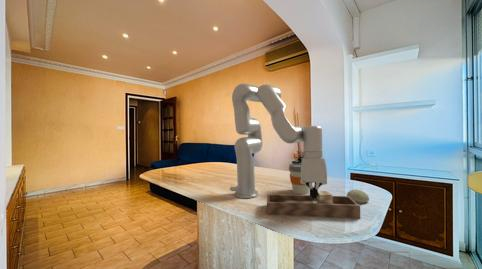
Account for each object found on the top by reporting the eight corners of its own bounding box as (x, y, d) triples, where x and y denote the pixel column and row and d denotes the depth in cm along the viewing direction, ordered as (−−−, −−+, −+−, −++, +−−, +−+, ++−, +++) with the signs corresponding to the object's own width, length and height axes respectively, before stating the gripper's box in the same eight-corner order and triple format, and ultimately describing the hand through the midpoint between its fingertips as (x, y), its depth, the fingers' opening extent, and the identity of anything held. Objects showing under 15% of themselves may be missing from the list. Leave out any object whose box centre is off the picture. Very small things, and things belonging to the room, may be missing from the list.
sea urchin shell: (359, 201, 89) (349, 186, 94) (350, 209, 95) (340, 194, 100) (375, 199, 92) (364, 184, 97) (364, 206, 97) (355, 192, 102)
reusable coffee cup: (291, 195, 106) (291, 167, 106) (287, 188, 118) (287, 163, 118) (315, 195, 105) (315, 167, 105) (309, 188, 118) (308, 163, 117)
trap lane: (267, 214, 83) (266, 202, 83) (267, 204, 93) (267, 194, 93) (360, 218, 77) (360, 205, 77) (349, 207, 88) (349, 196, 87)
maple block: (319, 206, 82) (319, 194, 82) (317, 202, 87) (317, 190, 87) (332, 207, 81) (332, 194, 81) (329, 202, 86) (329, 191, 86)
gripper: (295, 156, 82) (296, 200, 82) (334, 156, 79) (335, 201, 80) (294, 154, 89) (294, 194, 90) (329, 153, 87) (329, 195, 87)
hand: (313, 197), depth 85 cm, fingers closed
